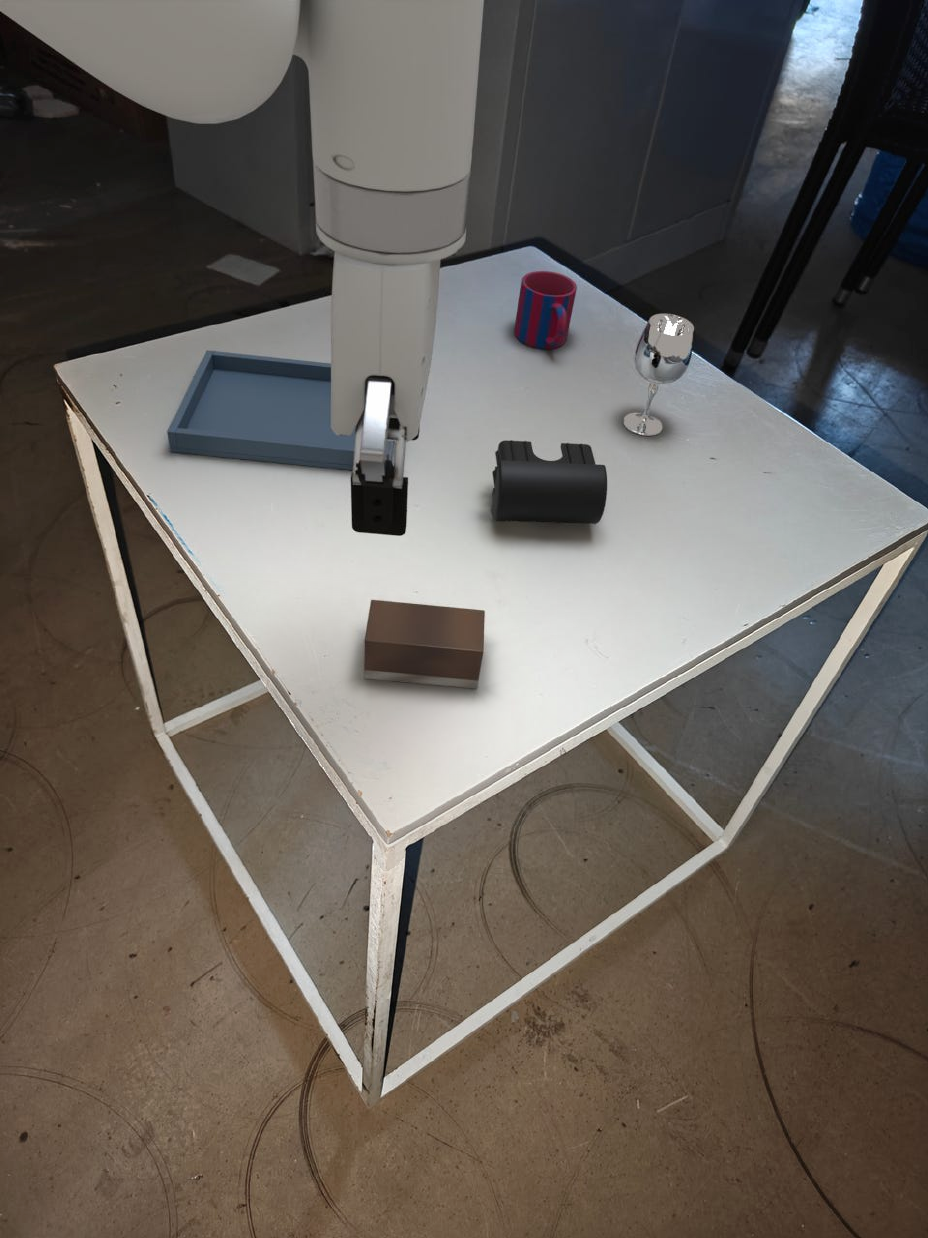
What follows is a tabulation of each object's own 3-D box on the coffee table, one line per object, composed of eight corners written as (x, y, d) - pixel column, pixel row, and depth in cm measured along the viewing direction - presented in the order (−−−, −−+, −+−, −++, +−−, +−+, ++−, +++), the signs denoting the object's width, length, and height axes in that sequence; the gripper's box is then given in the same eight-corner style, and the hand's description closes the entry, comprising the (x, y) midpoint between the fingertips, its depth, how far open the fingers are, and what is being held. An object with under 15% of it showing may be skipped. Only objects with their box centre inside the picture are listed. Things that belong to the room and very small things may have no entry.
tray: (170, 451, 85) (166, 431, 83) (209, 369, 96) (206, 349, 94) (388, 474, 86) (389, 454, 84) (402, 389, 97) (403, 370, 95)
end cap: (492, 538, 81) (501, 481, 76) (486, 491, 85) (494, 434, 80) (596, 542, 82) (612, 485, 77) (585, 495, 86) (599, 439, 82)
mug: (561, 323, 111) (571, 271, 106) (576, 364, 104) (587, 311, 99) (510, 321, 110) (518, 269, 105) (522, 362, 103) (530, 308, 98)
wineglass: (629, 441, 94) (658, 340, 85) (609, 411, 98) (634, 312, 89) (676, 436, 95) (709, 337, 87) (655, 407, 99) (684, 309, 90)
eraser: (363, 678, 68) (364, 640, 64) (370, 637, 71) (371, 598, 67) (477, 689, 68) (483, 651, 65) (478, 647, 71) (485, 609, 68)
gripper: (340, 135, 48) (347, 400, 61) (282, 274, 36) (305, 568, 49) (474, 148, 48) (453, 410, 61) (459, 290, 36) (437, 580, 49)
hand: (387, 480), depth 55 cm, fingers open, 9 cm apart
